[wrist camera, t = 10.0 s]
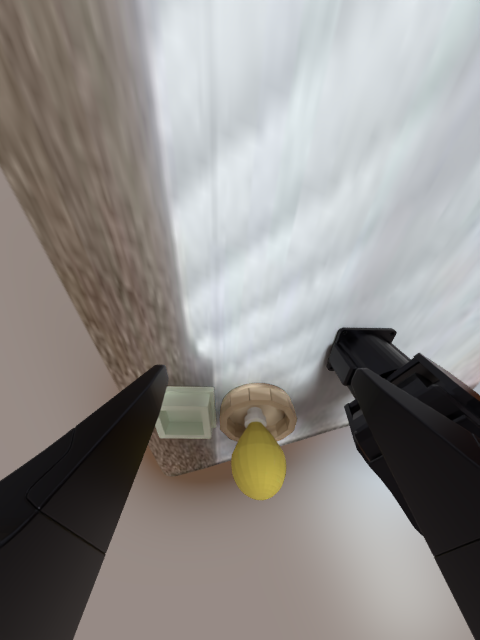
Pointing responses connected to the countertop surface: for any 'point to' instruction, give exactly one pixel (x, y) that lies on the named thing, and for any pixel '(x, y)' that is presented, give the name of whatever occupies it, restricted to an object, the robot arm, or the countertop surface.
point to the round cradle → (263, 397)
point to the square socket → (187, 413)
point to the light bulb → (258, 459)
